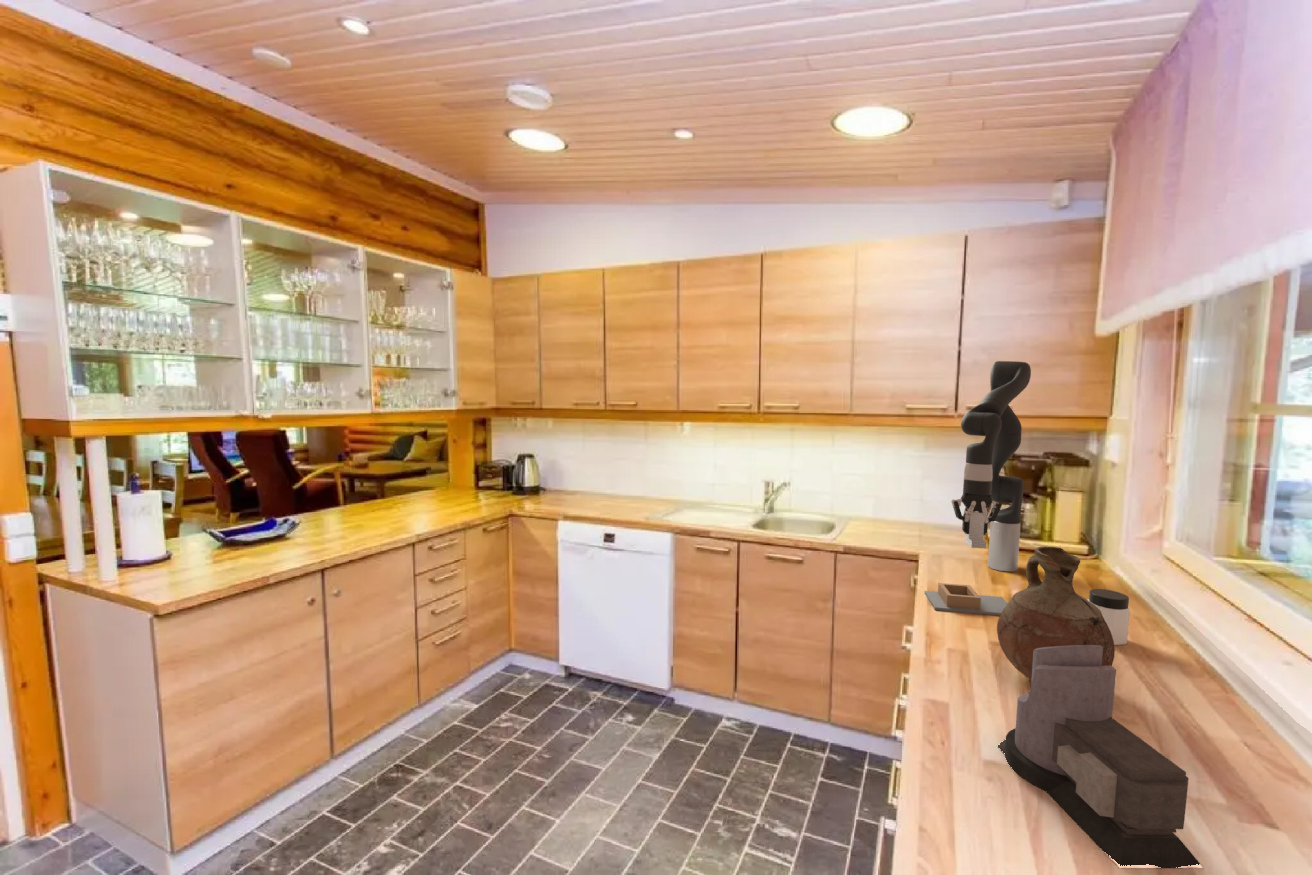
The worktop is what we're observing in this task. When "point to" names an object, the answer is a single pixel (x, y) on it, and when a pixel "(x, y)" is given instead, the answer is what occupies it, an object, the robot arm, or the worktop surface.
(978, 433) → the robot arm
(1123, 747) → the brown blocky piece
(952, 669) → the worktop surface
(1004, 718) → the worktop surface
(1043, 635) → the jug
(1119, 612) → the jar
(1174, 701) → the worktop surface
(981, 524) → the block
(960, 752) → the worktop surface
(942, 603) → the board
